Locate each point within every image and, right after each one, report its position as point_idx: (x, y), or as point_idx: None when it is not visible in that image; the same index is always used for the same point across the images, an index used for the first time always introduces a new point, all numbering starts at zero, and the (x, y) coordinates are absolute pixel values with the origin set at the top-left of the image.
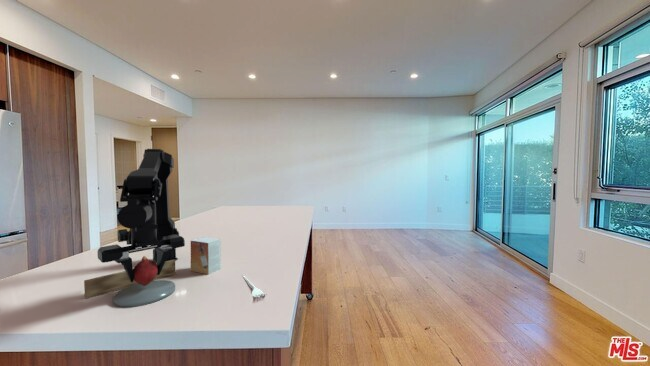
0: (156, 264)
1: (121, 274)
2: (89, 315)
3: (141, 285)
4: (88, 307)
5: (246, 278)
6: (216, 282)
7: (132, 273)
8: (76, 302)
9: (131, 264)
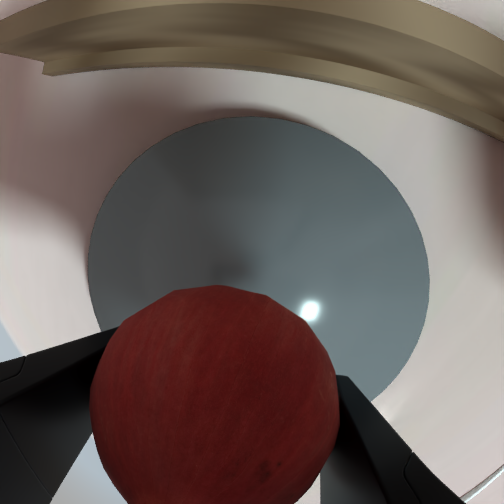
0: (355, 437)
1: (162, 12)
2: (35, 287)
3: (276, 189)
4: (36, 198)
5: (502, 471)
6: (478, 437)
7: (89, 427)
8: (28, 88)
9: (43, 502)
